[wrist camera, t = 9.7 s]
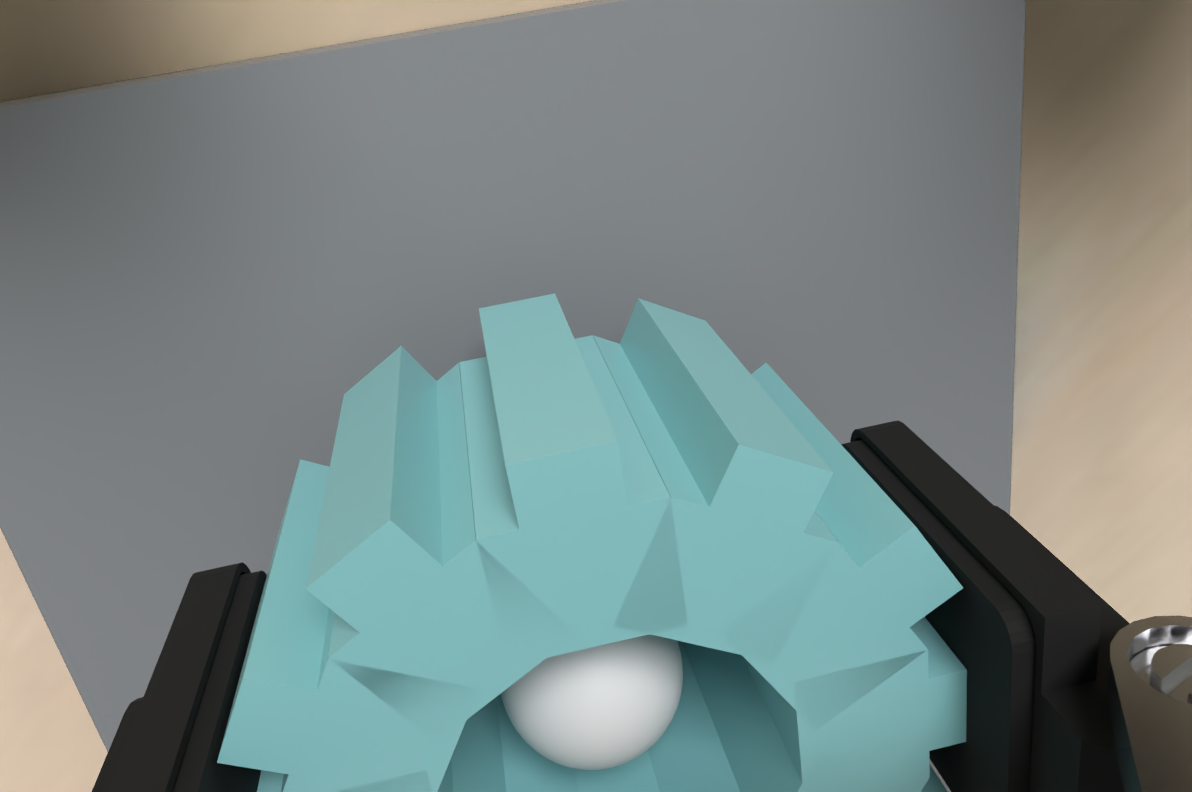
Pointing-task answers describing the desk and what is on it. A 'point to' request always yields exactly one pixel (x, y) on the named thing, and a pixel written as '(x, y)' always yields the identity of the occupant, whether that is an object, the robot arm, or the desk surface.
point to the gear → (593, 576)
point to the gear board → (484, 274)
